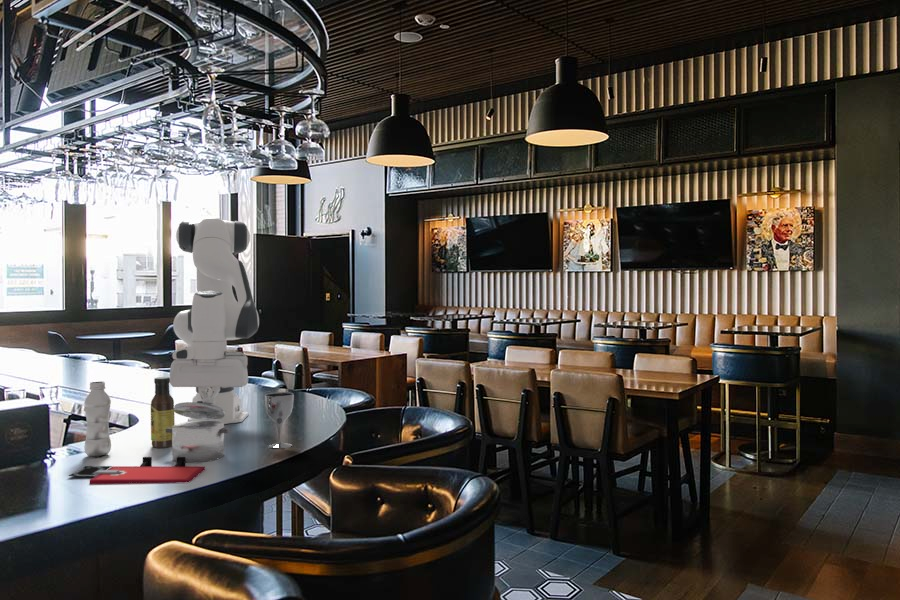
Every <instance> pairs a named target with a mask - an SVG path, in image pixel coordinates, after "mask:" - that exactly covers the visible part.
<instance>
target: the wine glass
mask: <svg viewBox="0 0 900 600" xmlns="http://www.w3.org/2000/svg"><path fill="white" fill-rule="evenodd" d="M294 398H295V397H294V393H293V392H289V391H288V392H287V391H280V392H279V391H277V392H270V393H269V392H268V393H265V394H264V404H265V405H264V406H265V411H266V413H267V415H268V416H269V418H270V419H271V420H272V421H273V423H275V425H276V429H277V438H278V439H277V442H276V443H273V444H272V445H271V444H269V447H271V448H285V449H289V448H292V447H293V444H291V443H286V442H283V441H282V429H283V425H284V423H285V422H286V420H287V419H288V418H289V416H291V414H292V412H293V407H294ZM291 446H292V447H291Z"/></svg>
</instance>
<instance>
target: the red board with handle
mask: <svg viewBox="0 0 900 600" xmlns="http://www.w3.org/2000/svg"><path fill="white" fill-rule="evenodd" d="M152 462H153V457H152V456H143V457H142V463H141V464H140V465H139V466H138V465H137V466H135V465H134V466H119V465H118V466H114V465H113V466H112V465H107V466H106V465H102V466H101V465H85V466H84V467H82V468H80V469H78V470H76V471H74V472H73V473H71V474H68V477H93V478H91V479H89V485H107V484H109V485H111V484H113V485H116V484H119V485H121V484H128V485H129V484H175V483H176V482H189V481H190V482H191V481H192V480H193V478H194V477H195V478H196V477H197V476H199V475H200V474H201V473H203V472H204V471H205V468H206V467H205V466H186V463H185V457H177V462H175V464H174V466H161V465H160V466H156V465H155V466H153V463H152ZM203 470H204V471H203ZM199 473H200V474H199ZM198 474H199V475H198ZM195 478H194V479H195ZM190 482H189V483H190ZM176 484H177V483H176Z"/></svg>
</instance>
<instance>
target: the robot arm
mask: <svg viewBox="0 0 900 600" xmlns="http://www.w3.org/2000/svg"><path fill="white" fill-rule="evenodd" d="M250 234H251V233H250V231H249V228H248V226H247V224H245V222H242V221H238V220H234V221H233V220H226V219H221V218H219V217H215V216H209V217H205V218H203V219H196V220H195V219H194V220H193V219H192V218H191V219H185V220H183V221H182V222H180V223H179V224H178V227H177V229H176V235H175V237H176V239H175V240H176V241H177V244H178V247H179V248H180V249H181V250H182V251H183V252H185V253H189V254H192V260H193V265H194V266H195V268H196V290H197V292H195V293H193V296H192V298H193V299H192V304H191V308H190V309H186V310H181V311H179V312H177V314H176V316H174V319H173V325H172V327H173V332H174V334H175V335H176V337H177V338H178V339H179V340H180V341H181V340H182V341H183V342H184V343H185V344H186V345H187V346H186V347H184V348H180V349H177V350H174V351H173V352H172V354H171V355H172V359H173V360H172V362H171V365H170V368H169V378H170V382H169V385H170V386H171V387H173V388H195V392H196V394H195V396H193V397H192V399H191V401H192V402H196V403H197V401H203V403H205V404H210V405H214V406H217V407H220V408H222V409H224V410H225V416H224V417H223V418H220V419H212V420H206V419H195V418H189V417H188V419H187V422H192V421H220V422H223V423H224V425H226V424H227V425H228V424H235V423H243V421H244V420H245V419H246V418H247V417H248V416H249V412H248V411H243V409H242V399H241V398H240V397H239V396H238V394H237V393H236V392H235V391H234V389H235V388H242V387H245V386H247V385H248V383H249V375H248V364H249V363H248V361H249V359H248V356H247V355H246V354H245V353H243V352H242V351H227V348H228V347H227V346H228V345H227V344H228V342H227V341H235V340H241V339H249V338H251V337H252V336H254V335H255V334H257V332H258V330H259V326H260V317H259V316H260V315H259V313H258V310H257V307H256V304H255V301H254V299H253V294H252V291H251V286H250V282H249V277H248V275H247V272H246V268H245V265H244V264H243V263H244V262H242V261H241V260H239V259H238V258H236V256H237V254H241V253H244V252H245V251H246V250H247V249H248V246H249V243H250V239H251V235H250ZM233 288H234V290H235V293H236V294H234V292H233V291H234V290H233ZM235 295H236V297H235ZM236 299H237V300H236Z"/></svg>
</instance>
